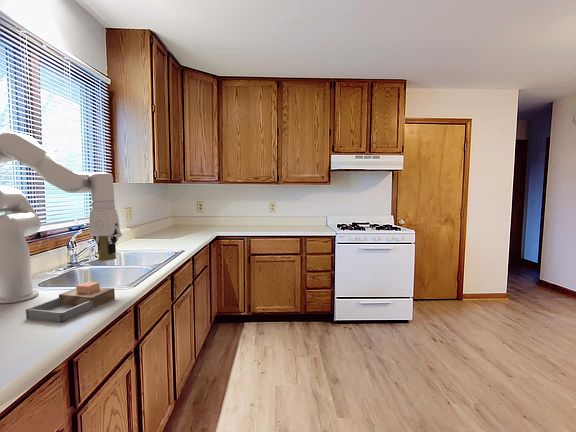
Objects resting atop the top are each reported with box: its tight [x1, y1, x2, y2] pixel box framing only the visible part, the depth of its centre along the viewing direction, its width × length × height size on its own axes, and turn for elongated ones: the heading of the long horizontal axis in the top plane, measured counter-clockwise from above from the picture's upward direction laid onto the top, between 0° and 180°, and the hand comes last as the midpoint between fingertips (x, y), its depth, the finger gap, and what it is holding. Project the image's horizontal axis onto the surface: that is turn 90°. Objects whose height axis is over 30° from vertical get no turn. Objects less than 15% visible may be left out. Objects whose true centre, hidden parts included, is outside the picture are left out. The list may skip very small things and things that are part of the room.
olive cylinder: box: [98, 234, 117, 262], centre depth 127 cm, size 6×6×11 cm
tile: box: [75, 281, 101, 294], centre depth 119 cm, size 5×5×2 cm
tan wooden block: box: [58, 286, 116, 309], centre depth 119 cm, size 14×10×4 cm
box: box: [25, 296, 93, 324], centre depth 109 cm, size 14×12×3 cm
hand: (107, 253), depth 127 cm, fingers closed on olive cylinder, 3 cm apart
